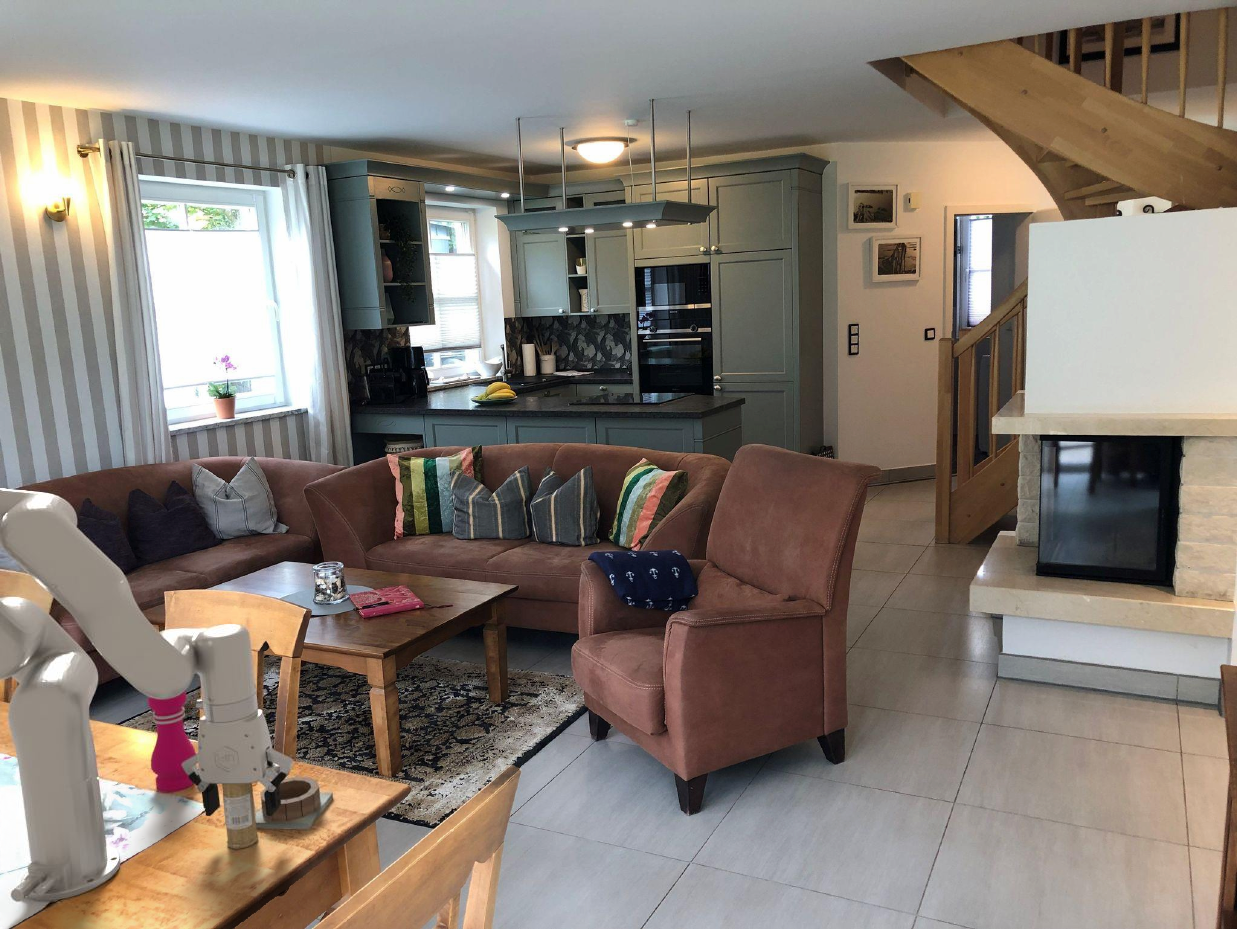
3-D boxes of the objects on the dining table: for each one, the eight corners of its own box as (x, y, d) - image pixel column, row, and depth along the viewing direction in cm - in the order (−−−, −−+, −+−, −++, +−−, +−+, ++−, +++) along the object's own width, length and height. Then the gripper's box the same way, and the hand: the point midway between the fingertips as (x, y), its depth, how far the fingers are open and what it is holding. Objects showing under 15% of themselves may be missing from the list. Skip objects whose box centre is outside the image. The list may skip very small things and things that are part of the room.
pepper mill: (206, 774, 170) (196, 668, 167) (184, 794, 162) (173, 683, 160) (168, 773, 170) (157, 667, 167) (144, 793, 163) (132, 683, 160)
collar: (309, 829, 150) (307, 805, 149) (248, 828, 151) (246, 804, 150) (333, 798, 160) (331, 775, 159) (275, 797, 161) (274, 775, 160)
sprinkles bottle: (262, 833, 149) (254, 753, 147) (252, 849, 145) (245, 766, 143) (232, 835, 149) (224, 754, 147) (222, 851, 144) (214, 768, 142)
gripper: (162, 717, 141) (176, 824, 143) (275, 716, 139) (286, 824, 142) (189, 697, 148) (202, 799, 151) (296, 696, 147) (307, 799, 149)
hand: (243, 811), depth 146 cm, fingers open, 9 cm apart
